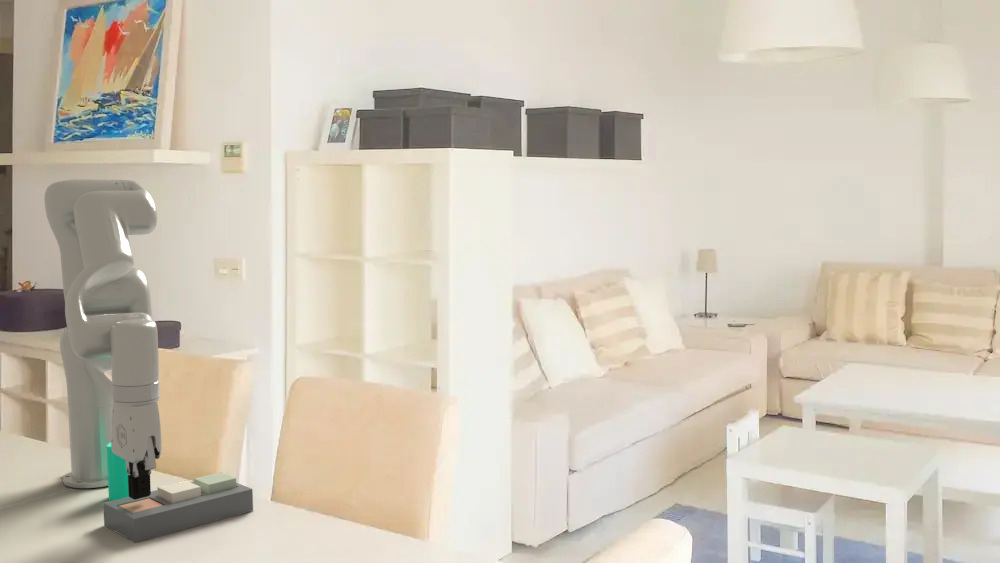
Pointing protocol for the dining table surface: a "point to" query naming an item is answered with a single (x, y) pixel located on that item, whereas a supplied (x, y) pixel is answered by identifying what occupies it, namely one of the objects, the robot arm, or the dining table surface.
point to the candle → (116, 476)
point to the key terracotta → (140, 505)
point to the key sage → (215, 483)
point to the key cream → (179, 491)
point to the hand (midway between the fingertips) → (139, 496)
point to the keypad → (175, 513)
